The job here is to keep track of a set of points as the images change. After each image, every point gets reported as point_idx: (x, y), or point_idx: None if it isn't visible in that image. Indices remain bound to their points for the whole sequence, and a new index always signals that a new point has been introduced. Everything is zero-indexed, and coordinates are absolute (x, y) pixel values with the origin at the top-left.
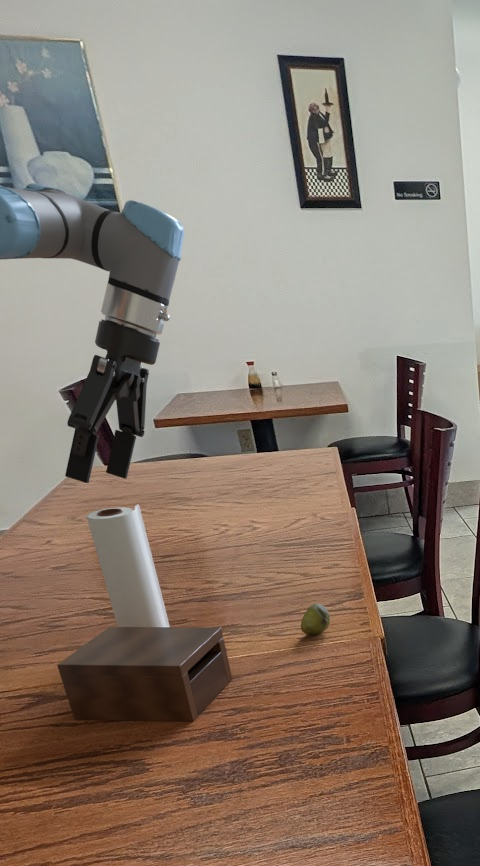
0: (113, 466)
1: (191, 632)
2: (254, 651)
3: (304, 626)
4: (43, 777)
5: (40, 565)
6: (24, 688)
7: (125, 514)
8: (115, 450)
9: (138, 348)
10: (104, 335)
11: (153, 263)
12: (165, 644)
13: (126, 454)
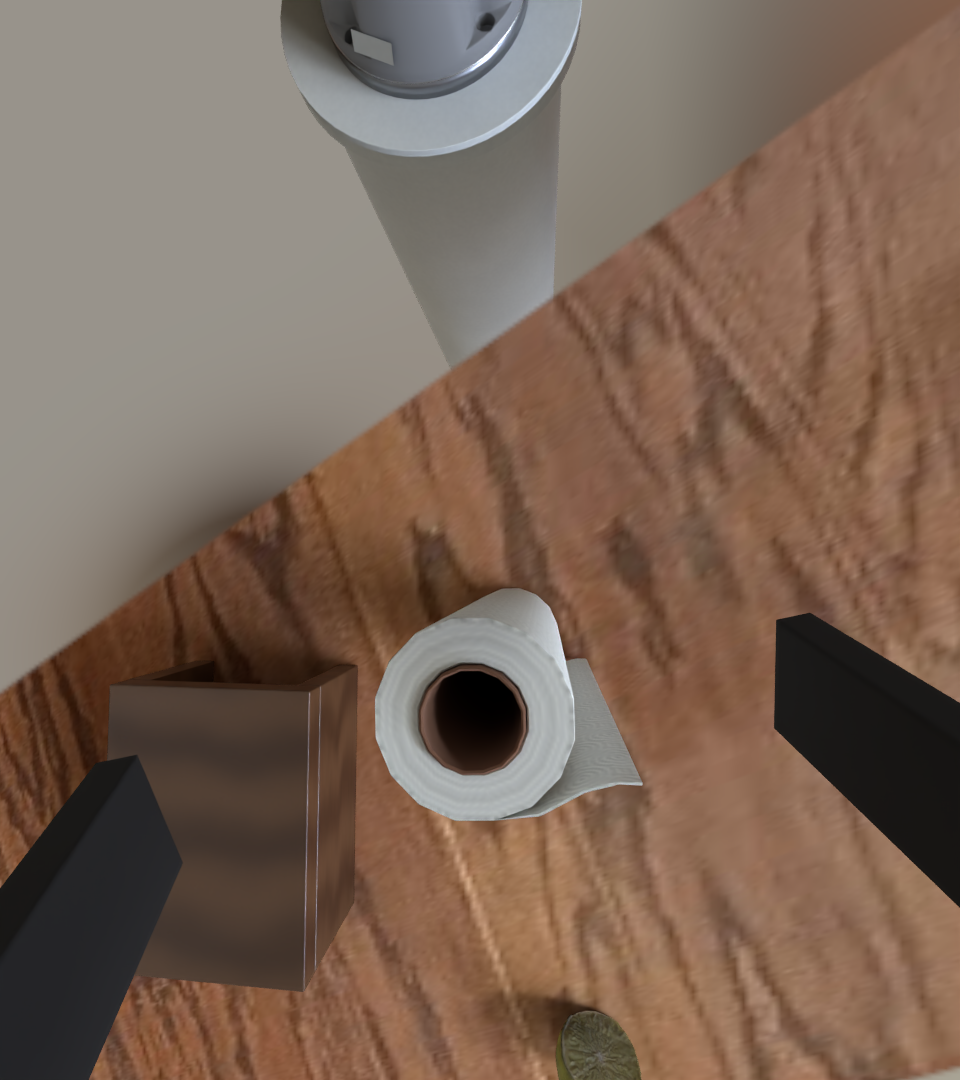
0: (817, 686)
1: (274, 924)
2: (489, 903)
3: (557, 1044)
4: (28, 715)
5: None
6: (313, 484)
7: (445, 812)
8: (932, 759)
9: None
10: None
11: None
12: (207, 888)
13: (916, 839)
